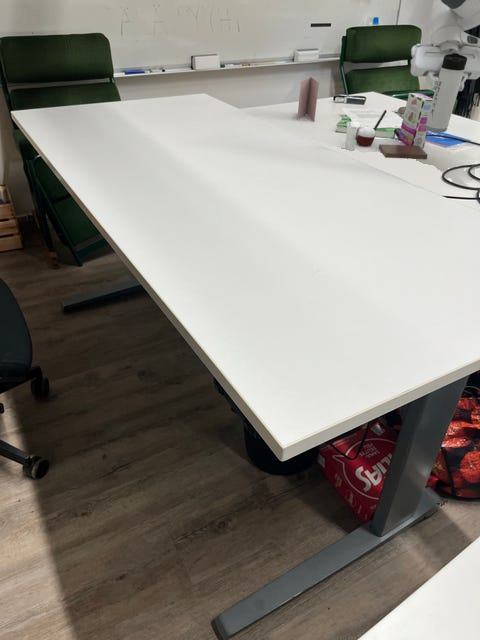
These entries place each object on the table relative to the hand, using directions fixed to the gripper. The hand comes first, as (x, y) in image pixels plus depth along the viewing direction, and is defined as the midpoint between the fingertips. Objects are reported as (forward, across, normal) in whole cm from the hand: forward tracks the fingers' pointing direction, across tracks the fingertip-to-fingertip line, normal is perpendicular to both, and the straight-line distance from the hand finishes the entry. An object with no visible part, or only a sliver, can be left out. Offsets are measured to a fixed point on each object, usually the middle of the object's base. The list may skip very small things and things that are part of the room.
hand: (447, 89), depth 137 cm
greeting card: (-22, -33, +56) cm, 68 cm away
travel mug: (+8, 0, +9) cm, 12 cm away
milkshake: (+5, -22, +29) cm, 37 cm away
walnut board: (+6, -4, +28) cm, 29 cm away
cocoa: (0, -15, +34) cm, 37 cm away
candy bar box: (-2, +2, +36) cm, 36 cm away
